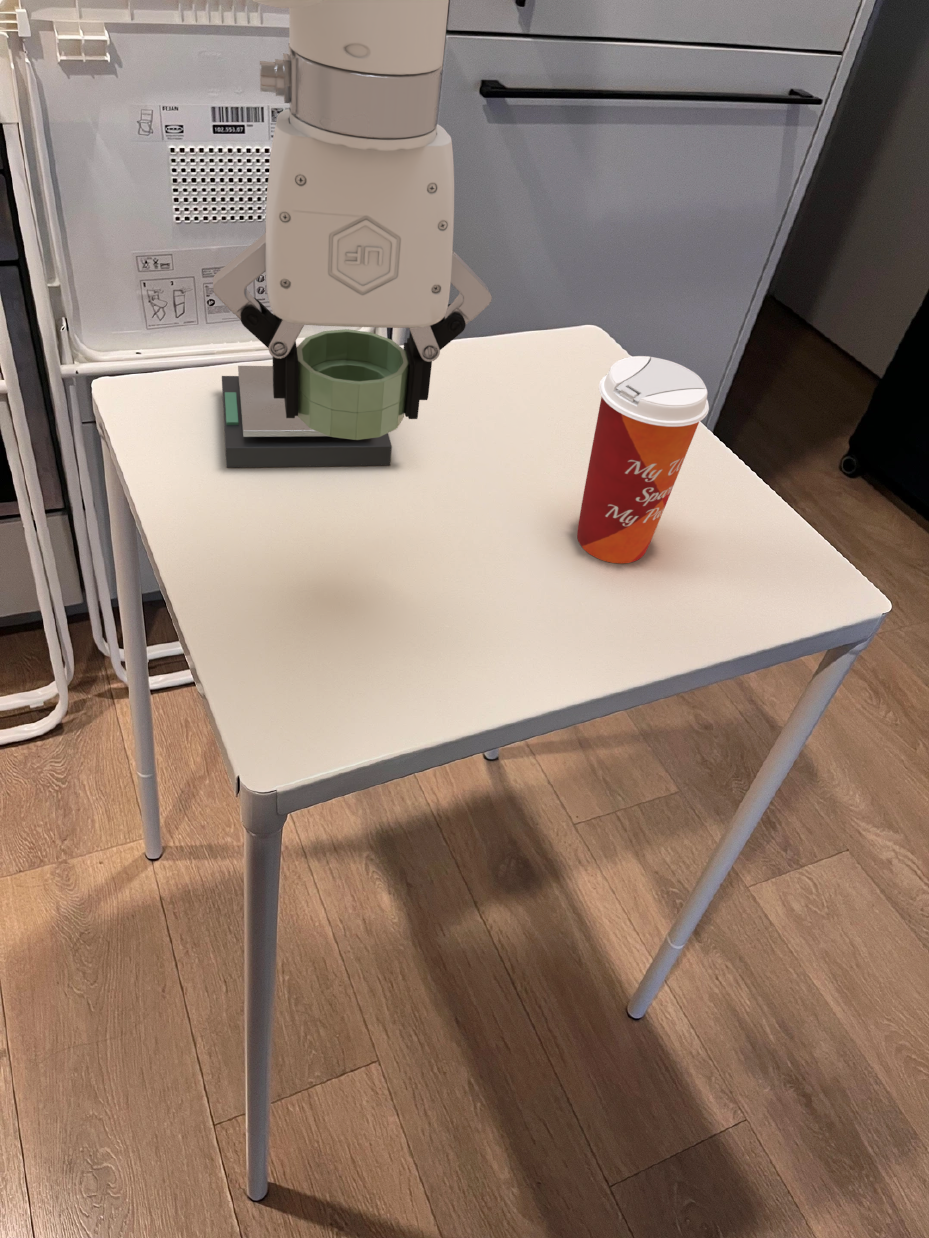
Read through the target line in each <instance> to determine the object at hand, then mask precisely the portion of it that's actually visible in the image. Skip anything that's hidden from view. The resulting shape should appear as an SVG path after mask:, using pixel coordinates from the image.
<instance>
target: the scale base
mask: <svg viewBox="0 0 929 1238" xmlns="http://www.w3.org/2000/svg"><path fill="white" fill-rule="evenodd" d="M221 391H222V410H223V411H222V412H223V428H224V430H223V431H224V447H225V465H226V468H228V469H229V468H231V469H232V468H291V467H293V468H294V467H298V468H299V467H302V468H303V467H360V466H361V467H366V466H369V467H371V466H373V467H374V466H375V467H376V466H391V461H392V448H393V445H392V442H391V438H390V435H389V433H387V434H385V435H383V436H381V437H377V438H369V439H361V440H353V439H345V438H337V437H330V436H303V437H243V426H242V413H241V400H240V388H239V375H221Z"/></svg>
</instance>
